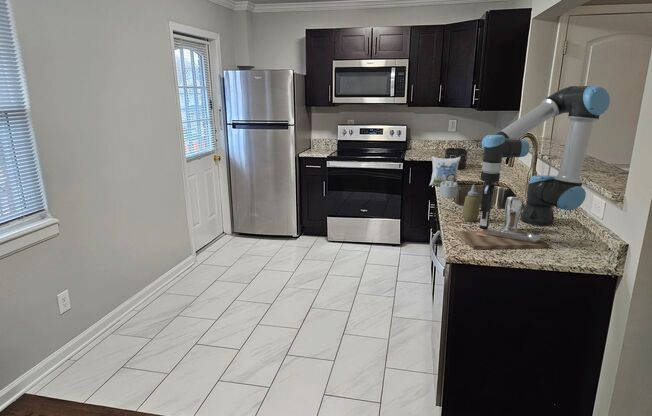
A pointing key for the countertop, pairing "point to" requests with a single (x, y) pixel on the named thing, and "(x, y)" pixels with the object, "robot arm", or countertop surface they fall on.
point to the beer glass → (512, 213)
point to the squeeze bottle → (471, 205)
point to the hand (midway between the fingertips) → (484, 224)
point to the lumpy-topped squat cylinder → (448, 189)
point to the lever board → (497, 241)
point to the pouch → (444, 170)
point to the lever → (519, 236)
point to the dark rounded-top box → (455, 154)
